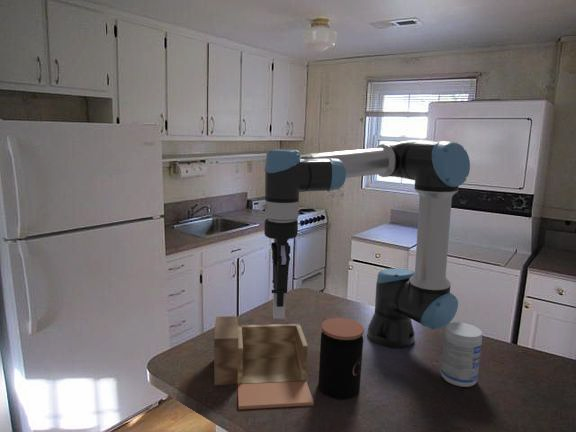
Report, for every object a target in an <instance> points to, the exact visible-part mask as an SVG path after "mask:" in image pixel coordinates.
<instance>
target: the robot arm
mask: <svg viewBox="0 0 576 432" xmlns="http://www.w3.org/2000/svg"><path fill="white" fill-rule="evenodd" d="M470 161H471V160H470V156H469V154H468V151H467V150H466V149H465V148H464V146H463V145H461V144H460V143H458V142H454V141H448V140H428V139H427V140H425V139H409V140H404V141H398V142H396V141H395V142H391V143H382V144H379V145H378V146H376V147H375V148H363V149H362V148H361V149H351V150H350V149H349V150H338V151H337V150H336V151H326V152H325V151H324V152H323V151H322V152H314V153H313V152H311V153H300V151H299V150H297V149H281V148H280V149H276V148H275V149H270V150H268V151H267V152H266V156H265V166H264V172H265V174H264V175H265V178H264V180H265V181H264V182H265V185H264V188H265V189H264V190H265V191H264V192H265V194H264V196H265V198H264V201H265V203H264V204H262V207H261V208H262V209H264V217H265V218H266V219H264V231H263V233H264V236H265V237H267V238H268V239H271V240H273V242H271V243H270V244H271V245H270V246H271V260H272V281H271V282H272V284H273V285H272V287H273V289H271V294H273V295H272V298H273V299H272V301H273V302H272V318H273V319H274V320H275V319H276V320H278V319H280V320H281V319H286V300H287V299H286V297H287V295H286V294H287V293H288V289H289V288H288V285H289V284H288V283H289V282H288V281H289V270H290V269H289V268H290V267H289V266H290V261H291V257H290V254H291V245H289V244H290V243H289V242H288V241H289V240H290V239H294V238H297V236H298V232H299V231H298V230H299V229H298V228H299V221H298V220H297V219H298V218H299V210H300V200H299V199H300V193H305V192H326V191H327V192H331V191H335V190H339V189H341V188H342V187H343V186H344V184H345V182H346V179H349V178H356V177H358V178H359V177H364V176H365V177H367V176H375V175H378V176H379V177H382V178H388V177H392V178H393V177H394V178H395V177H396V178H401V179H407V180H411V181H414V190H415V192H417V194H418V195H419V200H418V216H417V217H418V220H417V232H416V233H417V235H416V251H415V264H414V265H415V266H414V270H411V269H408V268H407V269H406V268H399V267H398V268H386V269H382V270H380V271H379V272H378V274H377V277H376V278H377V279H376V287H375V300H374V301H375V303H374V313H373V315H372V317H371V320H370V322H369V324H368V327H367V337H368V338H369V340H371V341H373V343H375V344H378V345H380V346H384V347H388V348H393V349H394V348H395V349H396V348H397V349H399V348H407V347H410V346H411V345H413V344H414V342H415V336H416V335H415V334H416V333H415V330H414V325H413V322H412V321H415V322H416V323H419V324H420V325H422V326H423V327H425V328H429V329H431V330H433V331H434V330H435V331H439V330H441V329H444V328H446V325H447V324H449V323H452V321H453V320H454V319H455V316H456V314H457V311H458V308H459V301H458V298H457V297H456V295H454V294H453V293H451V282H450V280H449V279H448V278H447V277H446V276H447V263H448V261H447V260H448V250H449V238H450V227H451V215H452V214H451V213H452V212H451V211H452V201H453V196H454V195H455V194H457V193H458V192H459V187H460V186H461V185H463V184H464V183H465V182H466V181H467V177H469V174H470V170H471V162H470Z"/></svg>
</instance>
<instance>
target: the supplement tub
mask: <svg viewBox="0 0 576 432" xmlns="http://www.w3.org/2000/svg"><path fill="white" fill-rule="evenodd" d="M482 343H483V331H482V330H481V329H480V328H479V327H477V326H476V325H472V324H469V323H465V322H457V321H456V322H450V323H449V324H447V325H446V327H445V330H444V336H443V347H442V355H441V356H442V357H441V365H440V375H441V377H442V378H443V380H445V381H446V382H447V383H448V384H451V385H454V386H455V387H456V386H458V387H461V388H462V387H464V388H469V387H473V386H474V385H476V384H477V381H478V375H479V369H480V367H479V366H480V359H481V353H482Z"/></svg>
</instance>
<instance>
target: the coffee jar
mask: <svg viewBox="0 0 576 432" xmlns="http://www.w3.org/2000/svg"><path fill="white" fill-rule="evenodd" d="M321 331H322V332H321V334H320V349H319V363H318V364H319V368H318V384H317V385H318V390H319V391H320V392H321V393H322V394H323V395H324V396H327V397H328V398H331V399H335V400H342V401H343V400H350V399H353V398H355V397H356V396H357V395H358V394H359V392H360V390H361V388H360V386H361V376H362V375H361V373H362V362H363V361H362V360H363V350H364V348H363V347H364V336H363V335H364V332H365V328H364V326H363V325H362V324H361V323H360V322H358V321H356V320H354V319H351V318H350V319H349V318H344V317H334V318H329V319H326V320H324V321H323V322H322V324H321Z"/></svg>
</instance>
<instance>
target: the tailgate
mask: <svg viewBox="0 0 576 432" xmlns="http://www.w3.org/2000/svg"><path fill="white" fill-rule="evenodd" d="M237 397H238V399H237V401H238V410H249V409H251V410H252V409H267V408H269V409H270V408H287V407H304V406H306V407H307V406H314V403H315V402H314V399H313V395H312V393H311V391H310V388H309V385H308V383H307V380H306V381H289V382H268V383H247V384H237Z"/></svg>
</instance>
